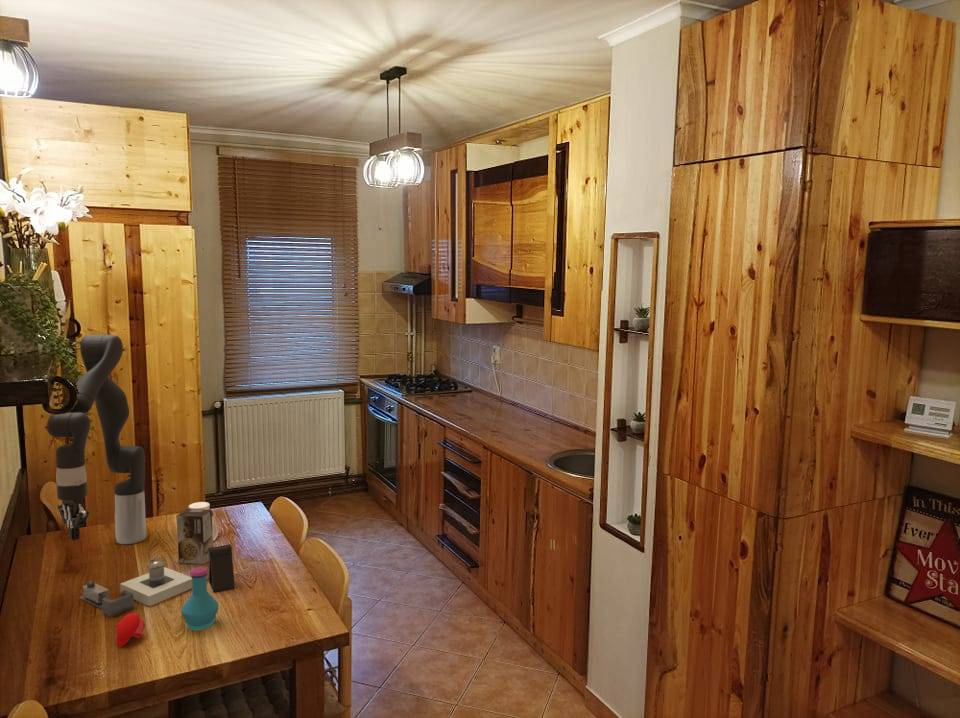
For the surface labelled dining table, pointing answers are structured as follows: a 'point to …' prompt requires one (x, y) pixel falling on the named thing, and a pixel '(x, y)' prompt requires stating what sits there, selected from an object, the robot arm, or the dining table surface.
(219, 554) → the phone stand
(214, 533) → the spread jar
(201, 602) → the perfume bottle
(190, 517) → the coffee box
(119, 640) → the cap
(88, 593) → the bolt
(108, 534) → the dining table surface
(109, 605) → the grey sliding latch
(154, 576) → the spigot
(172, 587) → the socket
